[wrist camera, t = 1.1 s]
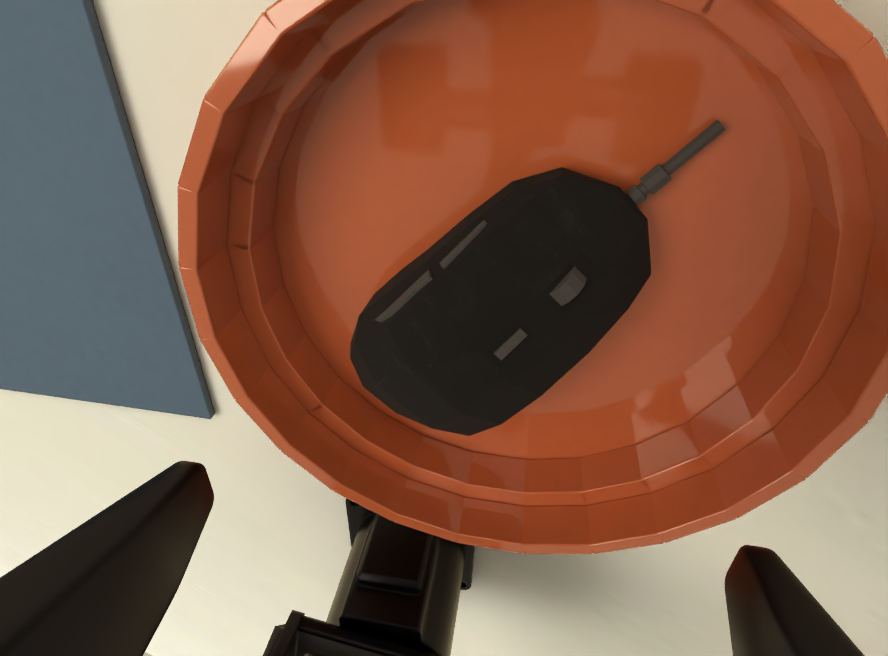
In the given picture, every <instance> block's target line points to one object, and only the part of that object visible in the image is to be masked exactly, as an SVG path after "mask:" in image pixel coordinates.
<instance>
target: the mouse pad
mask: <svg viewBox="0 0 888 656" xmlns="http://www.w3.org/2000/svg"><path fill="white" fill-rule="evenodd" d="M0 389H5V390H12V391H19V392H26V393H33V394H40V395H47V396H54V397H61V398H68V399H75V400H82V401H89V402H96V403H103V404H110V405H117V406H124V407H131V408H138V409H145V410H152V411H159V412H166V413H173V414H180V415H187V416H194V417H201V418H208V419H211V418H212V417H213V415H214V414H215V413H214V409H213V406H212V402H211V399H210V396H209V392H208V389H207V386H206V382H205V379H204V376H203V372H202V369H201V366H200V362H199V359H198V356H197V352H196V349H195V346H194V342H193V339H192V335H191V332H190V329H189V325H188V322H187V319H186V315H185V312H184V309H183V305H182V302H181V299H180V295H179V292H178V289H177V285H176V282H175V278H174V275H173V272H172V268H171V265H170V262H169V258H168V255H167V252H166V248H165V245H164V242H163V238H162V235H161V232H160V228H159V225H158V221H157V218H156V215H155V211H154V208H153V205H152V201H151V198H150V195H149V191H148V188H147V185H146V181H145V178H144V175H143V171H142V168H141V165H140V161H139V158H138V154H137V151H136V148H135V144H134V141H133V138H132V134H131V131H130V128H129V124H128V121H127V118H126V114H125V111H124V108H123V104H122V101H121V97H120V94H119V91H118V87H117V84H116V81H115V77H114V74H113V71H112V67H111V64H110V61H109V57H108V54H107V51H106V47H105V44H104V40H103V37H102V34H101V30H100V27H99V24H98V20H97V17H96V14H95V10H94V7H93V4H92V0H0Z"/></svg>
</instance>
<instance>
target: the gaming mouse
mask: <svg viewBox="0 0 888 656" xmlns="http://www.w3.org/2000/svg"><path fill="white" fill-rule="evenodd" d="M724 131H725V128H724V127H723V126H722V124H721V123H720V122H719V121H718V120H716V121H714V122H713V123H712V124H711V125H710V126H709V127H707V128H706V129H705V130H704V131H703V132H701V133H700V134H699V135H698V136H697V137H695V138H694V139H693V140H692V141H691V142H689V143H688V144H687V145H686V146H685V147H683V148H682V149H681V150H680V151H679V152H678V153H676V154H675V155H674V156H673V157H672V158H670V159H669V160H668V161H667V162H666V163H664V164H663V165H662V166H661V165H659V164H657V165H656V166H654V167H653V168H652V169H651V170H650V171H648V172H647V173H646V174H645V175H644V176H643V177H641V178H640V181H641V182H640V183H639V184H638V185H635V184H634V185H633V186H632V187H631V188H630V189H629V190H627V191H626V193H627V195H626V194H625V193H624V192H623V191H622V190H621V188H620V187H618V186H615V185H612V184H610V183H607V182H604V181H601V180H598V179H595V178H592V177H589V176H586V175H583V174H580V173H578V172H575V171H572V170H569V169H566V168H563V167H561V168H557V169H554V170H550V171H547V172H543V173H540V174H536V175H533V176H529V177H526V178H522V179H519V180H515V181H512V182H510V183H509V184H508V185H507V186H505V187H504V188H503V189H501V190H500V191H499V192H497V193H496V194H495V195H493V196H492V197H491V198H489V199H488V200H487V201H485V202H484V203H483V204H482V205H480V206H479V207H478V208H476V209H475V210H474V211H472V212H471V213H470V214H468V215H467V216H466V217H465V218H464V219H463V220H461V221H460V222H459V223H458V224H457V225H456V226H454V227H453V228H452V229H451V230H450V231H449V232H447V233H446V234H445V235H444V236H443V237H442V238H440V239H439V240H438V241H437V242H436V243H435V244H433V245H432V246H431V247H430V248H429V249H427V250H426V251H425V252H423V253H422V254H421V255H420V256H418V257H417V258H416V259H414V260H413V261H412V262H411V263H409V264H408V265H407V266H405V267H404V268H403V269H402V270H400V271H399V272H398V273H397V274H396V275H395V276H394V277H392V278H391V279H390V280H389V281H388V282H387V283H386V284H385V285H384V286H382V287H381V288H380V289H379V290H378V291H377V292H376V293H375V294H374V295H373V296H372V298H371V299H370V301H369V302H368V304H367V305H366V307H365V308H364V309H363V311H362V312H361V314H360V315H359V317H358V321H357V324H356V327H355V330H354V334H353V337H352V340H351V345H350V359H351V362H352V364H353V366H354V368H355V370H356V373H357V375H358V377H359V379H360V381H361V384H362V386H363V387H364V388H365V389H367V390H368V391H369V392H370V393H372V394H373V395H374V396H375V397H377V398H378V399H379V400H380V401H382V402H383V403H384V404H385V405H387V406H388V407H389V408H390V409H392V410H393V411H394V412H395V413H397V414H399V415H402V416H404V417H406V418H409V419H411V420H413V421H416V422H418V423H420V424H423V425H425V426H427V427H430V428H432V429H437V430H442V431H447V432H452V433H457V434H462V435H466V436H471V435H474V434H476V433H479V432H482V431H485V430H487V429H490V428H493V427H496V426H498V425H501V424H503V423H504V422H505V421H507V420H508V419H510V418H511V417H512V416H514V415H515V414H517V413H518V412H520V411H521V410H522V409H524V408H525V407H527V406H528V405H529V404H531V403H532V402H534V401H535V400H536V399H538V398H539V397H541V396H542V395H543V394H544V393H545V392H546V391H547V390H548V389H550V388H551V387H552V386H553V385H554V384H555V383H556V382H557V381H558V380H560V379H561V378H562V377H563V376H564V375H565V374H566V373H567V372H568V371H569V370H571V369H572V368H573V367H574V366H575V365H576V364H577V363H578V362H579V361H580V360H582V359H583V358H584V357H585V356H586V355H587V354H588V353H589V352H590V351H591V350H592V349H593V348H594V347H595V346H596V344H597V343H598V342H599V341H600V340H601V339H602V338H603V337H604V336H605V334H606V333H607V332H608V331H609V330H610V329H611V328H612V327H613V326H614V324H615V323H616V322H617V321H618V320H619V319H620V318H621V317H622V316H623V314H624V313H625V312H626V311H627V310H628V309H629V307H630V306H631V304H632V303H633V301H634V300H635V298H636V297H637V295H638V294H639V292H640V291H641V289H642V288H643V286H644V285H645V283H646V281H647V280H648V278H649V277H650V275H651V259H650V245H649V231H648V219H647V218H646V216H645V215H644V214H643V213H642V212H641V211H640V210H639V209H638V207H637V206H639V205H640V204H641V203H642V202H644V201H645V200H646V199H647V197H646V196H647V195H649V194H650V193H651V194H653V195H654V194H655V193H656V192H657V191H658V190H660V189H661V188H662V187H663V186H665V185H666V184H667V183H668V182H669V181H671V180H672V179H671V177H670V175H671V174H673V173H674V172H675V171H676V170H678V169H679V168H680V167H681V166H682V165H684V164H685V163H686V162H687V161H688V160H690V159H691V158H692V157H693V156H695V155H696V154H697V153H698V152H699V151H701V150H702V149H703V148H704V147H705V146H707V145H708V144H709V143H710V142H712V141H713V140H714V139H715V138H716V137H718V136H719V135H720V134H721V133H722V132H724ZM636 205H637V206H636Z"/></svg>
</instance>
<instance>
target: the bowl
mask: <svg viewBox="0 0 888 656" xmlns="http://www.w3.org/2000/svg"><path fill="white" fill-rule="evenodd" d="M716 120H718V121H719V122H720V123H721V124H722V126H723V127H724V128H725V131H724V132H722V133H721V134H720V135H719V136H718V137H716V138H715V139H714V140H713V141H712V142H710V143H709V144H708V145H707V146H705V147H704V148H703V149H702V150H701V151H699V152H698V153H697V154H696V155H695V156H693V157H692V158H691V159H690V160H688V161H687V162H686V163H685V164H684V165H682V166H681V167H680V168H679V169H678V170H676V171H675V172H674V173H673V174H671V175H670V177H671V179H672V180H671V181H669V182H668V183H667V184H666V185H665V186H663V187H662V188H661V189H660V190H658V191H657V192H656V193H655V194H654V195H653V194H651V193H650V194H649V195H647V196H646V197H647V199H646V200H645V201H644V202H642V203H641V204H640V205H639V206H637V205H636V206H637V207H638V209H639V210H640V211H641V212H642V213H643V214H644V215H645V216H646V218H647V219H648V231H649V245H650V259H651V275H650V277H649V278H648V280H647V281H646V283H645V285H644V286H643V288H642V289H641V291H640V292H639V294H638V295H637V297H636V298H635V300H634V301H633V303H632V304H631V306H630V307H629V309H628V310H627V311H626V312H625V313H624V314H623V316H622V317H621V318H620V319H619V320H618V321H617V322H616V323H615V324H614V326H613V327H612V328H611V329H610V330H609V331H608V332H607V333H606V334H605V336H604V337H603V338H602V339H601V340H600V341H599V342H598V343H597V344H596V346H595V347H594V348H593V349H592V350H591V351H590V352H589V353H588V354H587V355H586V356H585V357H584V358H583V359H582V360H580V361H579V362H578V363H577V364H576V365H575V366H574V367H573V368H572V369H571V370H569V371H568V372H567V373H566V374H565V375H564V376H563V377H562V378H561V379H560V380H558V381H557V382H556V383H555V384H554V385H553V386H552V387H551V388H550V389H548V390H547V391H546V392H545V393H544V394H543V395H542V396H541V397H539V398H538V399H536V400H535V401H534V402H532V403H531V404H529V405H528V406H527V407H525V408H524V409H522V410H521V411H520V412H518V413H517V414H515V415H514V416H512V417H511V418H510V419H508V420H507V421H505V422H504V423H503V424H501V425H498V426H496V427H493V428H490V429H487V430H485V431H482V432H479V433H476V434H474V435H471V436H466V435H462V434H457V433H452V432H447V431H442V430H437V429H432V428H430V427H427V426H425V425H423V424H420V423H418V422H416V421H413V420H411V419H409V418H406V417H404V416H402V415H399V414H397V413H395V412H394V411H393V410H392V409H390V408H389V407H388V406H387V405H385V404H384V403H383V402H382V401H380V400H379V399H378V398H377V397H375V396H374V395H373V394H372V393H370V392H369V391H368V390H367V389H365V388H364V387H363V386H362V384H361V381H360V379H359V377H358V375H357V373H356V370H355V368H354V366H353V364H352V362H351V359H350V345H351V340H352V337H353V334H354V330H355V327H356V324H357V321H358V317H359V315H360V314H361V312H362V311H363V309H364V308H365V307H366V305H367V304H368V302H369V301H370V299H371V298H372V296H373V295H374V294H375V293H376V292H377V291H378V290H379V289H380V288H381V287H382V286H384V285H385V284H386V283H387V282H388V281H389V280H390V279H391V278H392V277H394V276H395V275H396V274H397V273H398V272H399V271H400V270H402V269H403V268H404V267H405V266H407V265H408V264H409V263H411V262H412V261H413V260H414V259H416V258H417V257H418V256H420V255H421V254H422V253H423V252H425V251H426V250H427V249H429V248H430V247H431V246H432V245H433V244H435V243H436V242H437V241H438V240H439V239H440V238H442V237H443V236H444V235H445V234H446V233H447V232H449V231H450V230H451V229H452V228H453V227H454V226H456V225H457V224H458V223H459V222H460V221H461V220H463V219H464V218H465V217H466V216H467V215H468V214H470V213H471V212H472V211H474V210H475V209H476V208H478V207H479V206H480V205H482V204H483V203H484V202H485V201H487V200H488V199H489V198H491V197H492V196H493V195H495V194H496V193H497V192H499V191H500V190H501V189H503V188H504V187H505V186H507V185H508V184H509V183H510V182H512V181H515V180H519V179H522V178H526V177H529V176H533V175H536V174H540V173H543V172H547V171H550V170H554V169H557V168H561V167H563V168H566V169H569V170H572V171H575V172H578V173H580V174H583V175H586V176H589V177H592V178H595V179H598V180H601V181H604V182H607V183H610V184H612V185H615V186H618V187H620V188H621V190H622V191H623V192H624V193H625V194H626V195H627V193H626V191H627V190H629V189H630V188H631V187H632V186H633V185H634V184H635V185H638V184H639V183H640V182H641V181H640V178H641V177H643V176H644V175H645V174H646V173H647V172H648V171H650V170H651V169H652V168H653V167H654V166H656V165H657V164H659V165H661V166H662V165H663V164H664V163H666V162H667V161H668V160H669V159H670V158H672V157H673V156H674V155H675V154H676V153H678V152H679V151H680V150H681V149H682V148H683V147H685V146H686V145H687V144H688V143H689V142H691V141H692V140H693V139H694V138H695V137H697V136H698V135H699V134H700V133H701V132H703V131H704V130H705V129H706V128H707V127H709V126H710V125H711V124H712V123H713V122H714V121H716ZM178 184H179V186H178V252H179V266H180V267H179V269H180V273H181V276H182V280H183V283H184V286H185V290H186V293H187V297H188V300H189V304H190V307H191V311H192V314H193V318H194V321H195V324H196V328H197V331H198V335H199V337H200V340H201V342H202V344H203V346H204V347H205V349H206V351H207V353H208V354H209V356H210V358H211V359H212V361H213V363H214V365H215V366H216V368H217V370H218V372H219V373H220V375H221V377H222V379H223V380H224V382H225V384H226V386H227V387H228V389H229V391H230V393H231V394H232V396H233V398H234V399H236V402H237V403H238V404H239V405H240V406H241V407H242V408H243V410H244V411H245V412H246V413H247V414H248V415H249V416H250V417H251V419H252V420H253V421H254V422H255V423H256V424H257V425H258V426H259V427H260V429H261V430H262V431H263V432H264V433H265V434H266V435H267V436H268V437H269V439H270V440H271V441H272V442H273V443H274V444H275V445H276V446H277V447H278V449H279V450H281V451H282V452H283V453H284V454H285V455H287V456H288V457H289V458H291V459H292V460H293V461H295V462H296V463H297V464H299V465H300V466H301V467H302V468H304V469H305V470H306V471H308V472H309V473H310V474H312V475H313V476H314V477H316V478H317V479H318V480H320V481H321V482H322V483H323V484H325V485H326V486H327V487H329V488H330V489H331V490H334V491H335V492H336V493H338V494H340V495H342V496H344V497H346V498H348V499H350V500H351V501H353V502H355V503H357V504H359V505H361V506H363V507H365V508H367V509H369V510H371V511H373V512H375V513H376V514H378V515H380V516H382V517H384V518H386V519H388V520H390V521H393V522H395V523H398V524H401V525H404V526H407V527H410V528H413V529H416V530H419V531H422V532H425V533H428V534H431V535H434V536H437V537H440V538H443V539H446V540H449V541H452V542H457V543H461V544H467V545H473V546H479V547H485V548H491V549H497V550H503V551H509V552H515V553H524V554H592V553H593V554H598V553H604V552H611V551H617V550H624V549H630V548H636V547H643V546H649V545H656V544H662V543H664V542H670V541H673V540H675V539H678V538H681V537H684V536H687V535H690V534H693V533H696V532H699V531H702V530H705V529H708V528H711V527H714V526H717V525H720V524H723V523H726V522H729V521H731V520H734V519H736V518H739V517H741V516H743V515H744V514H746V513H748V512H750V511H751V510H753V509H755V508H757V507H758V506H760V505H762V504H764V503H765V502H767V501H769V500H771V499H772V498H774V497H776V496H778V495H779V494H781V493H783V492H785V491H786V490H788V489H790V488H792V487H793V486H795V485H797V484H799V483H800V482H802V481H804V480H805V479H806V478H808V477H809V476H810V475H811V474H812V473H813V472H815V471H816V470H817V469H818V468H819V467H820V466H821V465H822V464H823V463H824V462H825V461H827V460H828V459H829V458H830V457H831V456H832V455H833V454H834V453H835V452H836V451H837V450H839V449H840V448H841V447H842V446H843V445H844V444H845V443H846V442H847V441H848V440H849V439H851V438H852V437H853V436H854V435H855V434H856V433H857V432H858V431H859V430H860V429H861V428H863V427H864V426H865V425H866V424H867V423H868V420H870V419H871V418H872V416H873V415H874V413H875V412H876V410H877V408H878V407H879V405H880V404H881V402H882V401H883V399H884V397H885V396H886V394H887V393H888V59H887V57H886V55H885V53H884V51H883V49H882V47H881V45H880V44H879V42H878V40H877V38H875V37H873V33H872V32H871V31H869V30H868V29H867V28H866V27H865V26H864V25H862V24H861V23H860V22H859V21H858V20H857V19H855V18H854V17H853V16H852V15H851V14H849V13H848V12H847V11H846V10H845V9H844V8H842V7H841V6H840V5H839V4H838V3H837V2H835V1H834V0H278V1H277V2H275V3H274V4H272V5H271V6H270V7H268V8H267V9H266V11H265V12H263V13H262V14H261V15H260V17H259V18H258V20H257V21H256V22H255V24H254V25H253V27H252V28H251V30H250V31H249V33H248V34H247V35H246V37H245V38H244V40H243V41H242V43H241V44H240V45H239V47H238V48H237V50H236V51H235V53H234V54H233V56H232V57H231V58H230V60H229V61H228V63H227V64H226V66H225V67H224V69H223V70H222V71H221V73H220V74H219V76H218V77H217V79H216V80H215V81H214V83H213V84H212V86H211V87H210V89H209V90H208V92H207V93H206V94H205V98H204V99H203V102H202V105H201V109H200V112H199V115H198V119H197V122H196V125H195V129H194V132H193V135H192V139H191V142H190V146H189V149H188V152H187V156H186V159H185V162H184V166H183V169H182V172H181V176H180V179H179V183H178Z"/></svg>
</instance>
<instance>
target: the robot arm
mask: <svg viewBox="0 0 888 656" xmlns="http://www.w3.org/2000/svg"><path fill="white" fill-rule="evenodd" d="M213 501H214V493H213V490H212V487H211V484H210V481H209V478H208V475H207V472H206V469H205V467H204V466H203V465H202V464H200V463H195V462H188V461H180V462H177V463H175V464H173V465H172V466H170V467H169V468H167V469H166V470H164V471H163V472H161V473H160V474H158V475H156V476H155V477H153V478H152V479H150V480H149V481H147V482H146V483H144V484H143V485H141V486H140V487H138V488H137V489H135V490H134V491H132V492H131V493H129V494H127V495H126V496H124V497H123V498H121V499H120V500H118V501H117V502H115V503H114V504H112V505H111V506H109V507H108V508H106V509H105V510H103V511H101V512H100V513H98V514H97V515H95V516H94V517H92V518H91V519H89V520H88V521H86V522H85V523H83V524H82V525H80V526H79V527H77V528H75V529H74V530H72V531H71V532H69V533H68V534H66V535H65V536H63V537H62V538H60V539H59V540H57V541H56V542H54V543H53V544H51V545H50V546H48V547H46V548H45V549H43V550H42V551H40V552H39V553H37V554H36V555H34V556H33V557H31V558H30V559H28V560H27V561H25V562H24V563H22V564H20V565H19V566H17V567H16V568H14V569H13V570H11V571H10V572H8V573H7V574H5V575H4V576H2V577H1V578H0V656H143V654H144V652H145V650H146V648H147V647H148V645H149V643H150V641H151V639H152V637H153V635H154V633H155V632H156V630H157V628H158V626H159V624H160V622H161V620H162V618H163V617H164V615H165V613H166V611H167V609H168V607H169V605H170V603H171V602H172V600H173V598H174V596H175V594H176V592H177V590H178V587H179V585H180V583H181V581H182V578H183V576H184V574H185V571H186V569H187V567H188V564H189V562H190V559H191V557H192V554H193V552H194V550H195V547H196V545H197V542H198V540H199V538H200V535H201V533H202V530H203V528H204V525H205V523H206V521H207V518H208V516H209V513H210V511H211V508H212V506H213ZM346 508H347V515H348V523H349V531H350V539H351V546H352V549H351V551H350V554H349V557H348V560H347V563H346V566H345V569H344V572H343V574H342V577H341V580H340V583H339V586H338V589H337V592H336V595H335V598H334V600H333V603H332V606H331V609H330V612H329V615H328V618H327V621H326V622H324V621H321V620H317V619H314V618H310V617H307V616H304V613H301V612H298V611H295V610H292V612H291V614H290V616H289V618H288V620H287V622H286V624H284V625H279V626H275V628H274V630H273V633H272V635H271V638H270V640H269V642H268V645H267V647H266V649H265V652H264V654H263V656H450V654H451V647H452V641H453V634H454V628H455V621H456V615H457V608H458V602H459V595H460V590H467V589H469V588H470V587H471V582H472V572H473V561H474V549H475V546H473V545H467V544H461V543H457V542H452V541H449V540H446V539H443V538H440V537H437V536H434V535H431V534H428V533H425V532H422V531H419V530H416V529H413V528H410V527H407V526H404V525H401V524H398V523H395V522H393V521H390V520H388V519H386V518H384V517H382V516H380V515H378V514H376V513H375V512H373V511H371V510H369V509H367V508H365V507H363V506H361V505H359V504H357V503H355V502H353V501H351V500H350V499H348V498H346ZM725 595H726V603H727V611H728V619H729V627H730V635H731V643H732V650H733V656H864V655H863V653H862V652H861V651H860V650H859V649H858V648H857V646H856V645H855V644H854V643H853V642H852V641H851V640H850V638H849V637H848V636H847V635H846V634H845V633H844V631H843V630H842V629H841V628H840V627H839V626H838V624H837V623H836V622H835V621H834V620H833V619H832V618H831V616H830V615H829V614H828V613H827V612H826V611H825V609H824V608H823V607H822V606H821V605H820V604H819V602H818V601H817V600H816V599H815V598H814V597H813V596H812V594H811V593H810V592H809V591H808V590H807V589H806V587H805V586H804V585H803V584H802V583H801V582H800V580H799V579H798V578H797V577H796V576H795V575H794V574H793V572H792V571H791V570H790V569H789V568H788V567H787V565H786V564H785V563H784V562H783V561H782V560H781V558H780V557H779V556H778V555H777V554H776V553H775V552H774V551H772V550H770V549H768V548H763V547H756V546H750V545H744V546H742V547H741V548H740V549H739V551H738V553H737V555H736V557H735V558H734V560H733V562H732V564H731V566H730V568H729V570H728V572H727V574H726V577H725Z"/></svg>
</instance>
